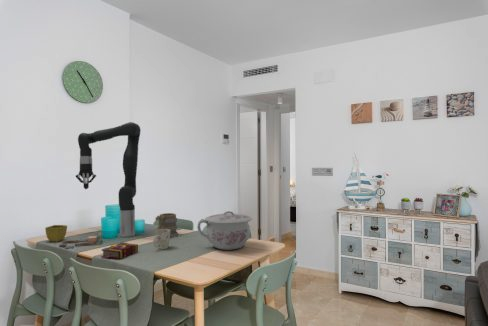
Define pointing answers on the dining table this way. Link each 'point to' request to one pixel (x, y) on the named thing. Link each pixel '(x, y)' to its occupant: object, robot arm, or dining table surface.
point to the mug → (162, 238)
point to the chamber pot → (227, 230)
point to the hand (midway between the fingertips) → (86, 189)
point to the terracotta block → (92, 239)
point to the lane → (99, 239)
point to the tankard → (168, 223)
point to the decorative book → (120, 250)
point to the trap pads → (73, 246)
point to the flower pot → (56, 232)
